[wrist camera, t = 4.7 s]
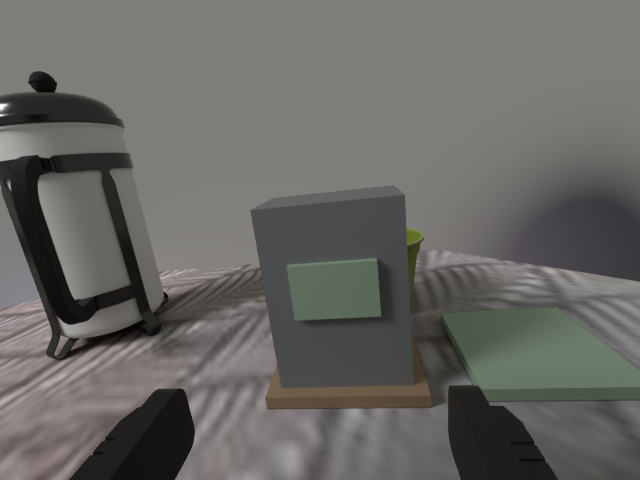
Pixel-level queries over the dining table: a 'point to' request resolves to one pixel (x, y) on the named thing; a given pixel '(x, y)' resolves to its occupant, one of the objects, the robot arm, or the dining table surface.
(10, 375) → the dining table surface
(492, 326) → the green mat
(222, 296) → the dining table surface
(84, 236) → the coffee press
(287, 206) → the charcoal unit
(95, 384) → the dining table surface
